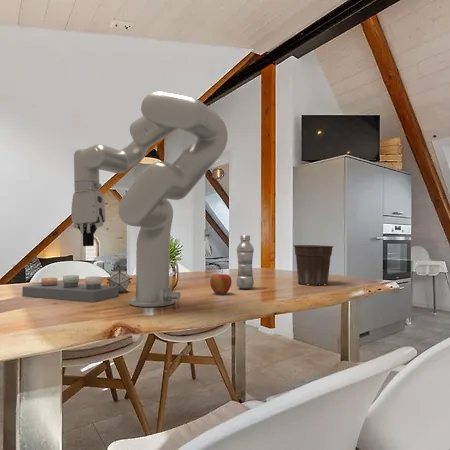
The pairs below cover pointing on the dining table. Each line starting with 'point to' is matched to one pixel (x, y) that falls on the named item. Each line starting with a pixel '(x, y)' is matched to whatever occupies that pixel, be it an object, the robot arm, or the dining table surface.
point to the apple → (220, 283)
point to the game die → (119, 279)
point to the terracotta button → (49, 281)
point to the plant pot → (313, 263)
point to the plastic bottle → (245, 263)
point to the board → (70, 292)
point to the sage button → (70, 281)
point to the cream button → (93, 282)
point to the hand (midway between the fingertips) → (88, 245)
